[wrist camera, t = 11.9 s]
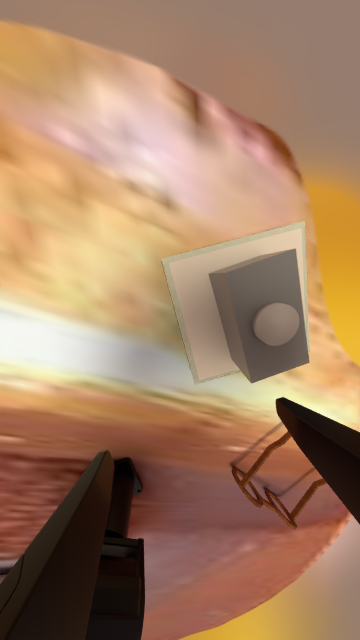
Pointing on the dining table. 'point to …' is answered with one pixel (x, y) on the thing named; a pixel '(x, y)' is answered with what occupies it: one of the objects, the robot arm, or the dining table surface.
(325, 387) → the dining table surface
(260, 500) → the glasses
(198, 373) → the stand
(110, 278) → the dining table surface
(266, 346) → the block
